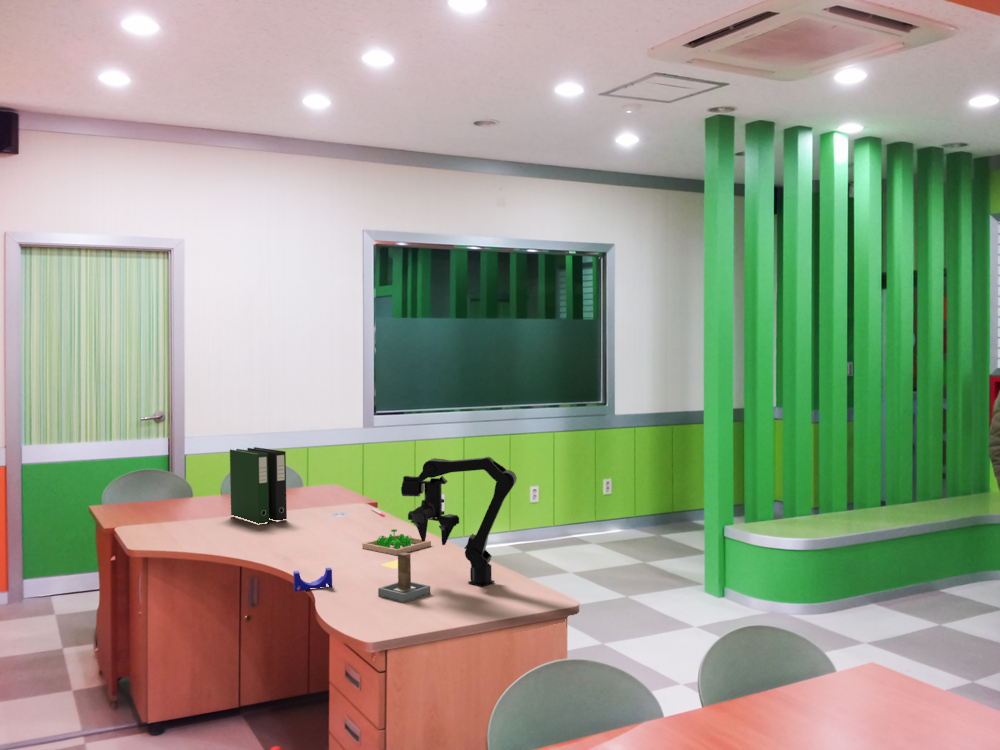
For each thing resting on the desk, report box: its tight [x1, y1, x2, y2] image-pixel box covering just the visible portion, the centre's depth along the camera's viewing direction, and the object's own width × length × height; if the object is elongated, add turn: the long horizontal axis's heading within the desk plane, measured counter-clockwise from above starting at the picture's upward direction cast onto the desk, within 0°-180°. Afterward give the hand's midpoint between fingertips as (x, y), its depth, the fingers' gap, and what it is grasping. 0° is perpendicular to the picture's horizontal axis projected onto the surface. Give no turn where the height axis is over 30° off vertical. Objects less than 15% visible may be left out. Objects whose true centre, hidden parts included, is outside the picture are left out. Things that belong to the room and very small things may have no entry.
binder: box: [229, 446, 288, 524], centre depth 394 cm, size 27×15×32 cm, turn 45°
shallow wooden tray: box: [361, 534, 432, 556], centre depth 335 cm, size 19×19×2 cm
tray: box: [377, 581, 431, 603], centre depth 270 cm, size 12×12×2 cm
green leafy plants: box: [375, 528, 413, 549], centre depth 336 cm, size 15×15×7 cm
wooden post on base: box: [393, 552, 416, 593], centre depth 270 cm, size 6×4×12 cm, turn 140°
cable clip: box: [293, 567, 333, 592], centre depth 279 cm, size 12×4×6 cm, turn 112°
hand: (433, 543), depth 285 cm, fingers open, 9 cm apart
